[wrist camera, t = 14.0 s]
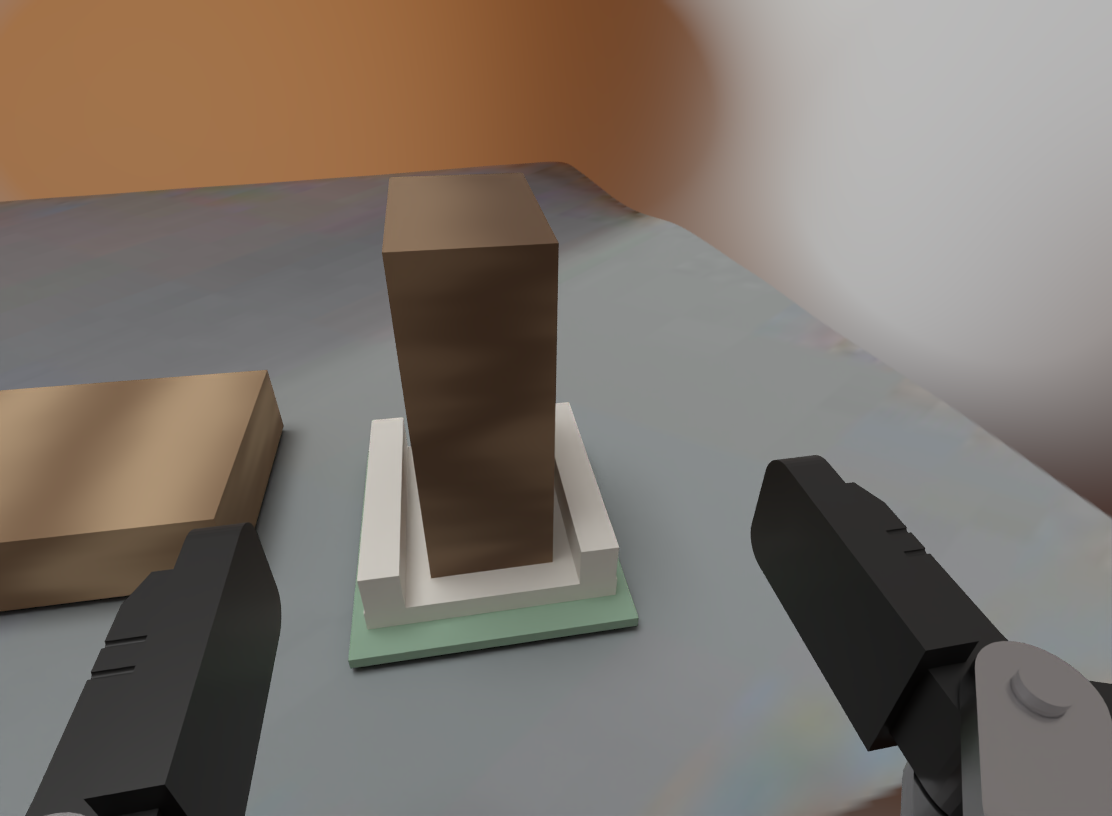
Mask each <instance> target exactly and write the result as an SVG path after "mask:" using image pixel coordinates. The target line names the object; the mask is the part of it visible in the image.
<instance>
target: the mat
mask: <svg viewBox="0 0 1112 816" xmlns="http://www.w3.org/2000/svg"><path fill="white" fill-rule="evenodd" d="M368 458H369V451H368ZM367 468H368V459H367ZM366 479H367V470H366ZM365 490H366V480H365ZM364 501H365V491H364ZM364 501H363V511H364ZM362 522H363V512H362ZM362 522H361V533H362ZM361 533H360V543H361ZM360 543H359V554H360ZM359 554H358V564H357V575H358V565H359ZM357 575H356V585H355V596H354V606H353V617H352V627H351V638H350V648H349V659H348V661H349V665H350V668H357V667H363V666H370V665H377V664H383V663H390V662H397V661H403V660H410V659H417V658H424V657H430V656H437V655H444V654H450V653H457V652H464V651H470V650H477V649H484V648H490V647H497V646H504V645H510V644H517V643H524V642H530V641H537V640H544V639H551V638H557V637H564V636H571V635H577V634H584V633H591V632H597V631H604V630H611V629H617V628H624V627H631V626H637V625H638V615H637V612H636V609H635V606H634V603H633V600H632V597H631V594H630V591H629V588H628V585H627V582H626V579H625V576H624V573H623V570H622V567H621V564H620V562H619V559H618V563H617V572H616V577H617V586H616V595H610V596H603V597H596V598H589V599H582V600H575V601H568V602H561V603H554V604H546V605H539V606H532V607H525V608H518V609H511V610H504V611H497V612H490V613H483V614H475V615H468V616H461V617H454V618H447V619H440V620H433V621H426V622H419V623H412V624H405V625H397V626H390V627H383V628H376V629H369V630H368V629H367V625H366V622H365V618H364V614H363V613H364V607H363V603H362V599H361V595H360V591H359V587H358V583H357Z"/></svg>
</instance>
